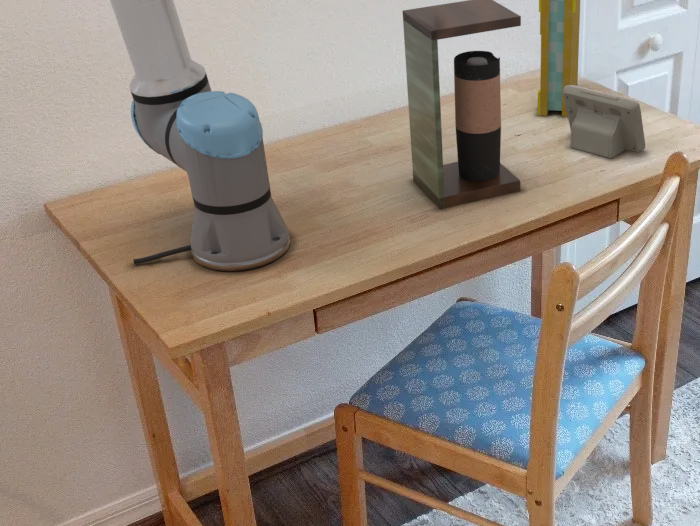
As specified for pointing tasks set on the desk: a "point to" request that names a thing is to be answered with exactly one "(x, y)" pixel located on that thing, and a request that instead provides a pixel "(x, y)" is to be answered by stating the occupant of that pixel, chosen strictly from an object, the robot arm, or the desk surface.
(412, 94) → the shelf
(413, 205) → the desk surface
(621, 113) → the digital clock
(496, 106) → the travel mug
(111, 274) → the desk surface
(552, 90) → the book
